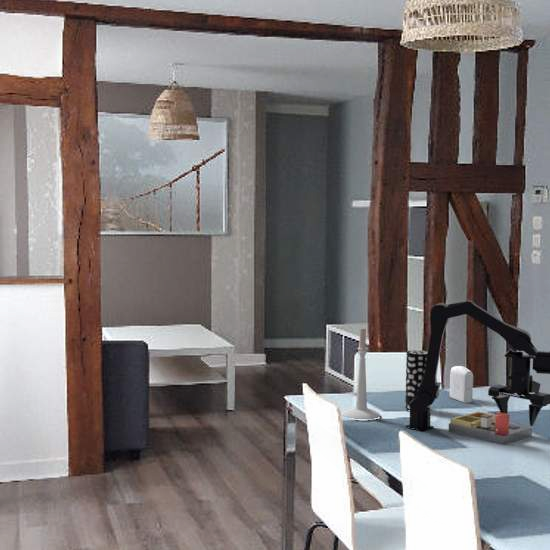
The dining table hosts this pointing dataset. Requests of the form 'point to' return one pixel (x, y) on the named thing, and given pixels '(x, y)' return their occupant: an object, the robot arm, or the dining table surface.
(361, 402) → the candlestick
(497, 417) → the red rounded cylinder
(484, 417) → the block
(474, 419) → the panel
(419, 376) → the white-spotted black cylinder
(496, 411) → the block
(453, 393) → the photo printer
